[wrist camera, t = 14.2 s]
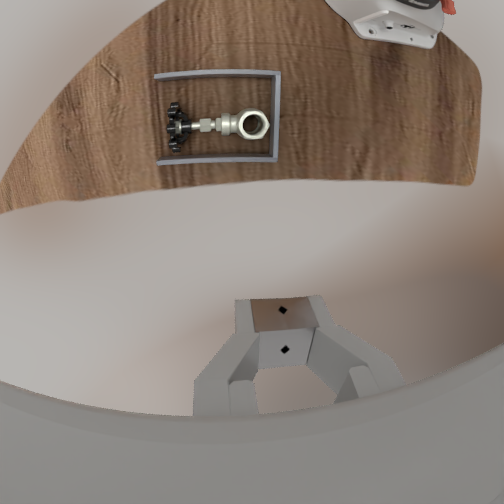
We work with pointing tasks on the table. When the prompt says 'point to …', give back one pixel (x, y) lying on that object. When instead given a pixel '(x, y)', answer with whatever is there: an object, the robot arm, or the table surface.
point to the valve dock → (273, 117)
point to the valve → (212, 125)
